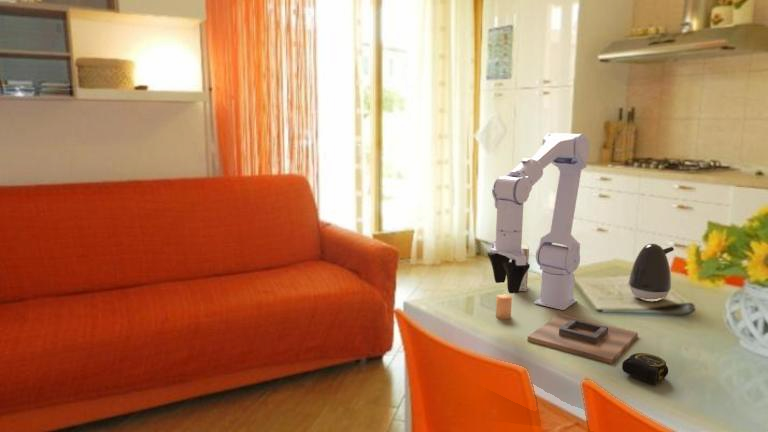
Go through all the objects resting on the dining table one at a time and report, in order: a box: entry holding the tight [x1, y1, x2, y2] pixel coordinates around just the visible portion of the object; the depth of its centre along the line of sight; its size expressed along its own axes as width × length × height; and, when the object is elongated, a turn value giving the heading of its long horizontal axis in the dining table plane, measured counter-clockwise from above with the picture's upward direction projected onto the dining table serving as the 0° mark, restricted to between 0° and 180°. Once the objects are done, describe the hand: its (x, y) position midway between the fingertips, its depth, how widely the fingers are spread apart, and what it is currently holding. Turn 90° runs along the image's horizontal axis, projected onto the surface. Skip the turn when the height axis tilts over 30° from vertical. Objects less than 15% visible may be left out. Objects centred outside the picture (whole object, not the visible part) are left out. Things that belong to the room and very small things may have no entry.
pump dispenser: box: [628, 243, 675, 299], centre depth 150 cm, size 10×10×15 cm
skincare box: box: [519, 243, 530, 292], centre depth 159 cm, size 6×4×12 cm
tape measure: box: [621, 352, 669, 386], centre depth 107 cm, size 7×7×4 cm
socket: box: [526, 313, 639, 365], centre depth 125 cm, size 18×18×2 cm
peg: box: [495, 293, 513, 320], centre depth 138 cm, size 4×4×5 cm
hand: (506, 287), depth 130 cm, fingers open, 7 cm apart
